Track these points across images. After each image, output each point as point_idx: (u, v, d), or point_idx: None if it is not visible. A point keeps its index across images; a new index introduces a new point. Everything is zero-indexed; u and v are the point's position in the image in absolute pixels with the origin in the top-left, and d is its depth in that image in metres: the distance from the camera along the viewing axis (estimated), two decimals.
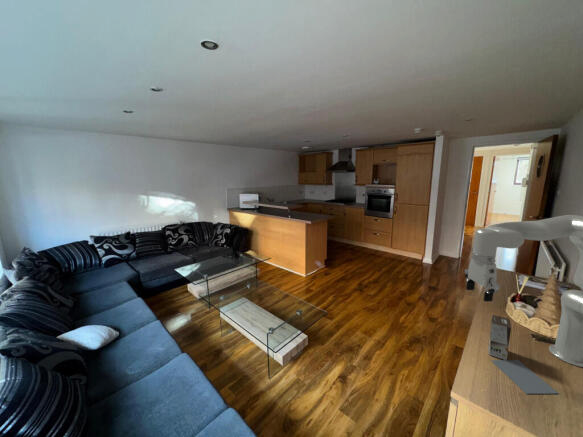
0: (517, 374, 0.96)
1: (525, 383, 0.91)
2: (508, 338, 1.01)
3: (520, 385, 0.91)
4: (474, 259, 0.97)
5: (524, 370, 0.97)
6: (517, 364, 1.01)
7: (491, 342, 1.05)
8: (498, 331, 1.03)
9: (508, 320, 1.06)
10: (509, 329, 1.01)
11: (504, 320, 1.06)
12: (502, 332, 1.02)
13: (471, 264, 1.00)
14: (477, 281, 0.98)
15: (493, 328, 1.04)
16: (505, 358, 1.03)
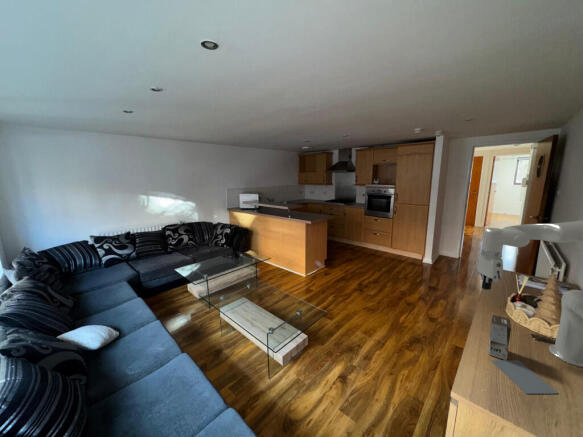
0: (517, 374, 0.96)
1: (525, 383, 0.91)
2: (508, 338, 1.01)
3: (520, 385, 0.91)
4: (483, 254, 1.10)
5: (524, 370, 0.97)
6: (517, 364, 1.01)
7: (491, 342, 1.05)
8: (498, 331, 1.03)
9: (508, 320, 1.06)
10: (509, 329, 1.01)
11: (504, 320, 1.06)
12: (502, 332, 1.02)
13: (480, 259, 1.14)
14: (485, 274, 1.11)
15: (493, 328, 1.04)
16: (505, 358, 1.03)
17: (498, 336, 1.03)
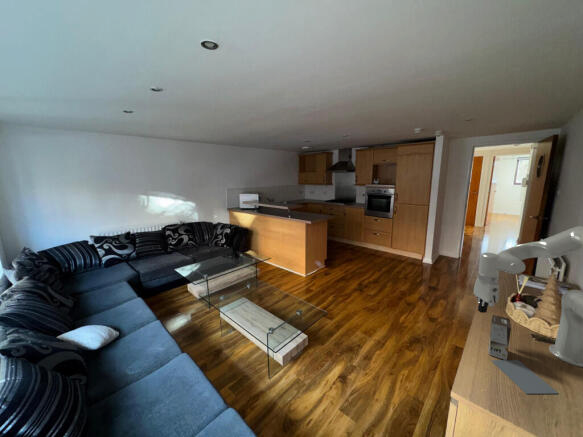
0: (517, 374, 0.96)
1: (525, 383, 0.91)
2: (508, 338, 1.01)
3: (520, 385, 0.91)
4: (479, 279, 1.12)
5: (524, 370, 0.97)
6: (517, 364, 1.01)
7: (491, 342, 1.05)
8: (498, 331, 1.03)
9: (508, 320, 1.06)
10: (509, 329, 1.01)
11: (504, 320, 1.06)
12: (502, 332, 1.02)
13: (477, 282, 1.16)
14: (481, 298, 1.13)
15: (493, 328, 1.04)
16: (505, 358, 1.03)
17: (498, 336, 1.03)
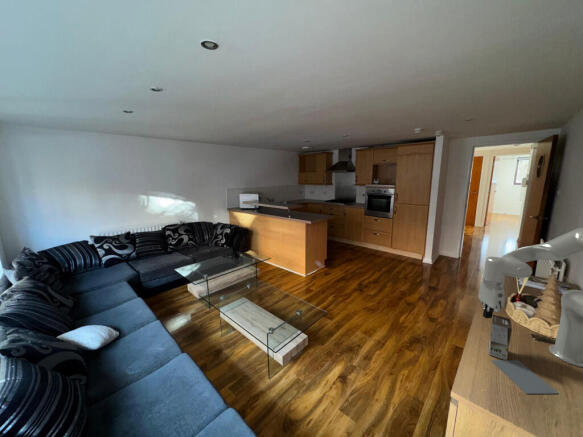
0: (517, 374, 0.96)
1: (525, 383, 0.91)
2: (508, 339, 1.01)
3: (520, 385, 0.91)
4: (484, 283, 1.09)
5: (524, 370, 0.97)
6: (517, 364, 1.01)
7: (491, 342, 1.05)
8: (498, 332, 1.03)
9: (509, 320, 1.05)
10: (510, 330, 1.00)
11: (505, 320, 1.05)
12: (502, 333, 1.02)
13: (481, 287, 1.13)
14: (487, 303, 1.10)
15: (493, 329, 1.04)
16: (505, 358, 1.03)
17: (498, 337, 1.03)
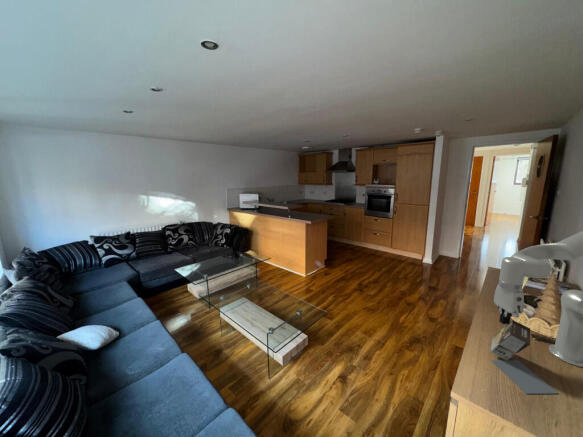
0: (517, 374, 0.96)
1: (525, 383, 0.91)
2: (520, 349, 0.96)
3: (520, 385, 0.91)
4: (501, 286, 1.01)
5: (524, 370, 0.97)
6: (517, 364, 1.01)
7: (499, 346, 1.01)
8: (513, 342, 0.97)
9: (529, 331, 0.97)
10: (527, 345, 0.94)
11: (525, 330, 0.97)
12: (517, 344, 0.96)
13: (497, 290, 1.04)
14: (504, 307, 1.01)
15: (509, 338, 0.97)
16: (506, 359, 1.02)
17: (510, 345, 0.98)
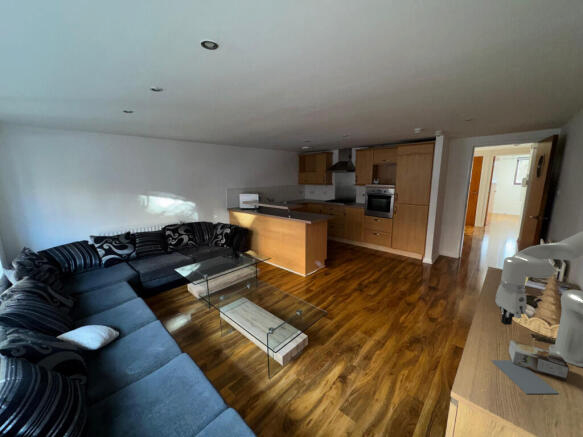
0: (517, 374, 0.96)
1: (525, 383, 0.91)
2: (547, 373, 0.95)
3: (520, 385, 0.91)
4: (503, 287, 1.00)
5: (524, 370, 0.97)
6: None
7: (535, 358, 0.96)
8: (556, 369, 0.93)
9: None
10: (562, 378, 0.93)
11: None
12: (555, 372, 0.93)
13: (499, 290, 1.03)
14: (506, 308, 1.00)
15: (559, 366, 0.93)
16: (515, 362, 1.00)
17: (547, 366, 0.95)
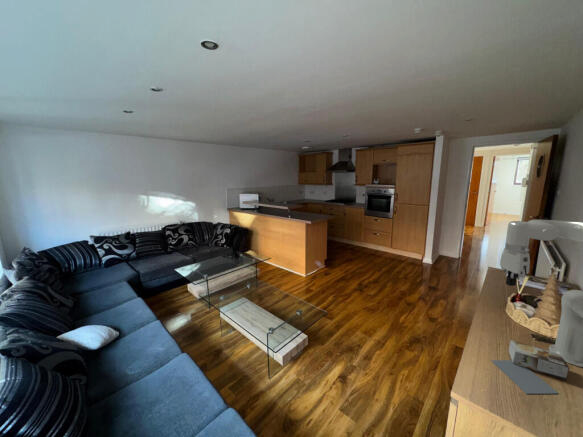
0: (517, 374, 0.96)
1: (525, 383, 0.91)
2: (547, 373, 0.95)
3: (520, 385, 0.91)
4: (508, 249, 1.06)
5: (524, 370, 0.97)
6: None
7: (535, 358, 0.96)
8: (556, 369, 0.93)
9: None
10: (562, 378, 0.93)
11: None
12: (555, 371, 0.93)
13: (504, 254, 1.09)
14: (510, 269, 1.06)
15: (559, 366, 0.93)
16: (515, 362, 1.00)
17: (547, 366, 0.95)
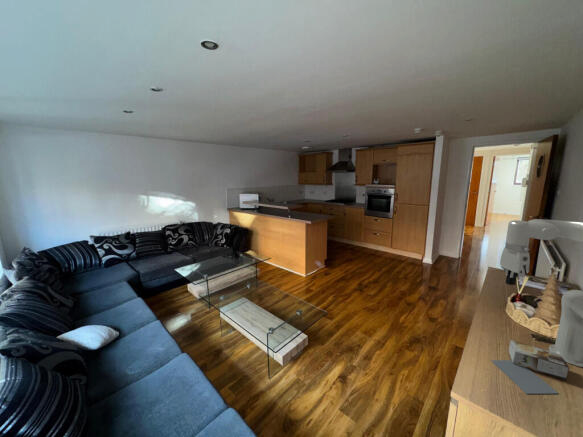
0: (517, 374, 0.96)
1: (525, 383, 0.91)
2: (547, 373, 0.95)
3: (520, 385, 0.91)
4: (508, 248, 1.06)
5: (524, 370, 0.97)
6: None
7: (535, 358, 0.96)
8: (556, 369, 0.93)
9: None
10: (562, 378, 0.93)
11: None
12: (555, 371, 0.93)
13: (504, 253, 1.09)
14: (510, 268, 1.07)
15: (559, 366, 0.93)
16: (515, 362, 1.00)
17: (547, 366, 0.95)
